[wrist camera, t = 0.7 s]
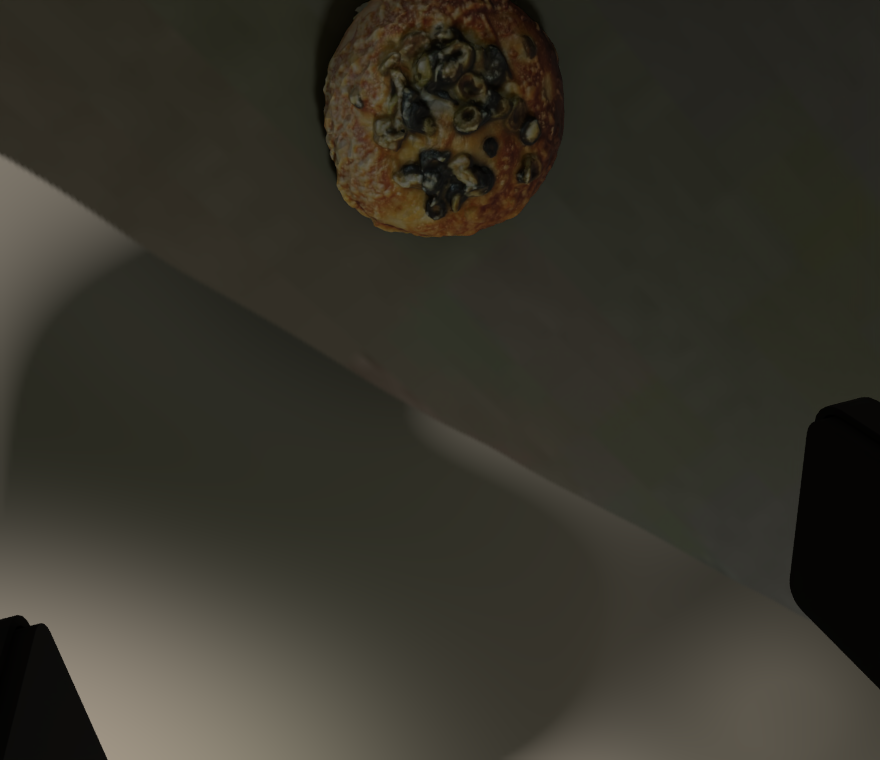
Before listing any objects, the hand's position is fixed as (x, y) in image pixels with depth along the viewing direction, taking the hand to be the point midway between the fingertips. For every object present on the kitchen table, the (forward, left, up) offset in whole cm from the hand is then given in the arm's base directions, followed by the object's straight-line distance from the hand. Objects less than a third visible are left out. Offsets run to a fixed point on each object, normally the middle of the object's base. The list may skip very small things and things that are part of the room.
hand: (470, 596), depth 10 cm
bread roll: (-7, +3, -29) cm, 30 cm away
